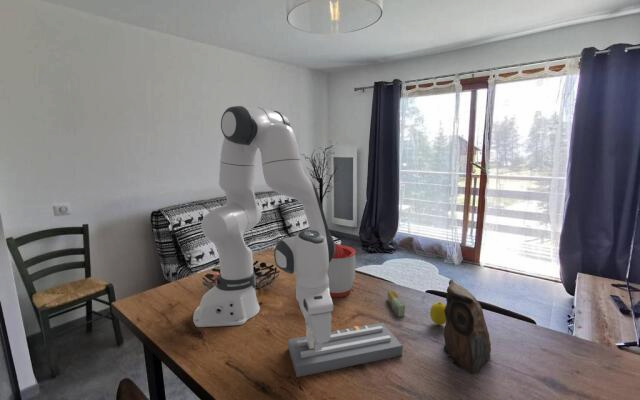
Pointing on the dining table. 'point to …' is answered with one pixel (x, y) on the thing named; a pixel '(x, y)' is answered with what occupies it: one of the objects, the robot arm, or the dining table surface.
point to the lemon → (438, 313)
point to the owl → (465, 330)
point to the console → (344, 349)
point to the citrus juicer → (341, 271)
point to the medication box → (396, 303)
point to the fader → (309, 339)
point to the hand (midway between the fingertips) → (313, 338)
